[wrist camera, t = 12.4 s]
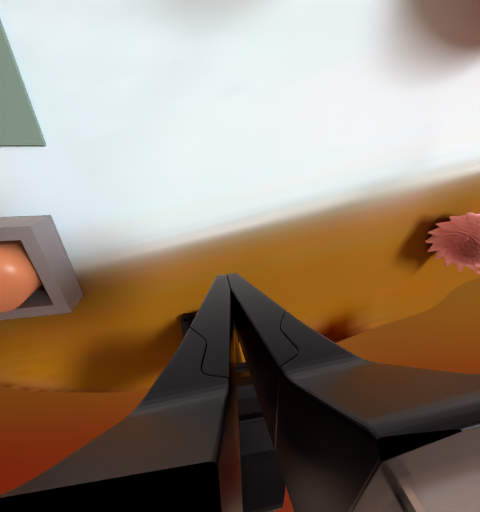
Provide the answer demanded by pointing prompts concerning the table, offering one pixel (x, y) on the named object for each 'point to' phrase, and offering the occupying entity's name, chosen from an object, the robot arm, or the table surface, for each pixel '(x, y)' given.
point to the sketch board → (15, 102)
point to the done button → (16, 275)
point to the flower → (458, 241)
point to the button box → (43, 267)
